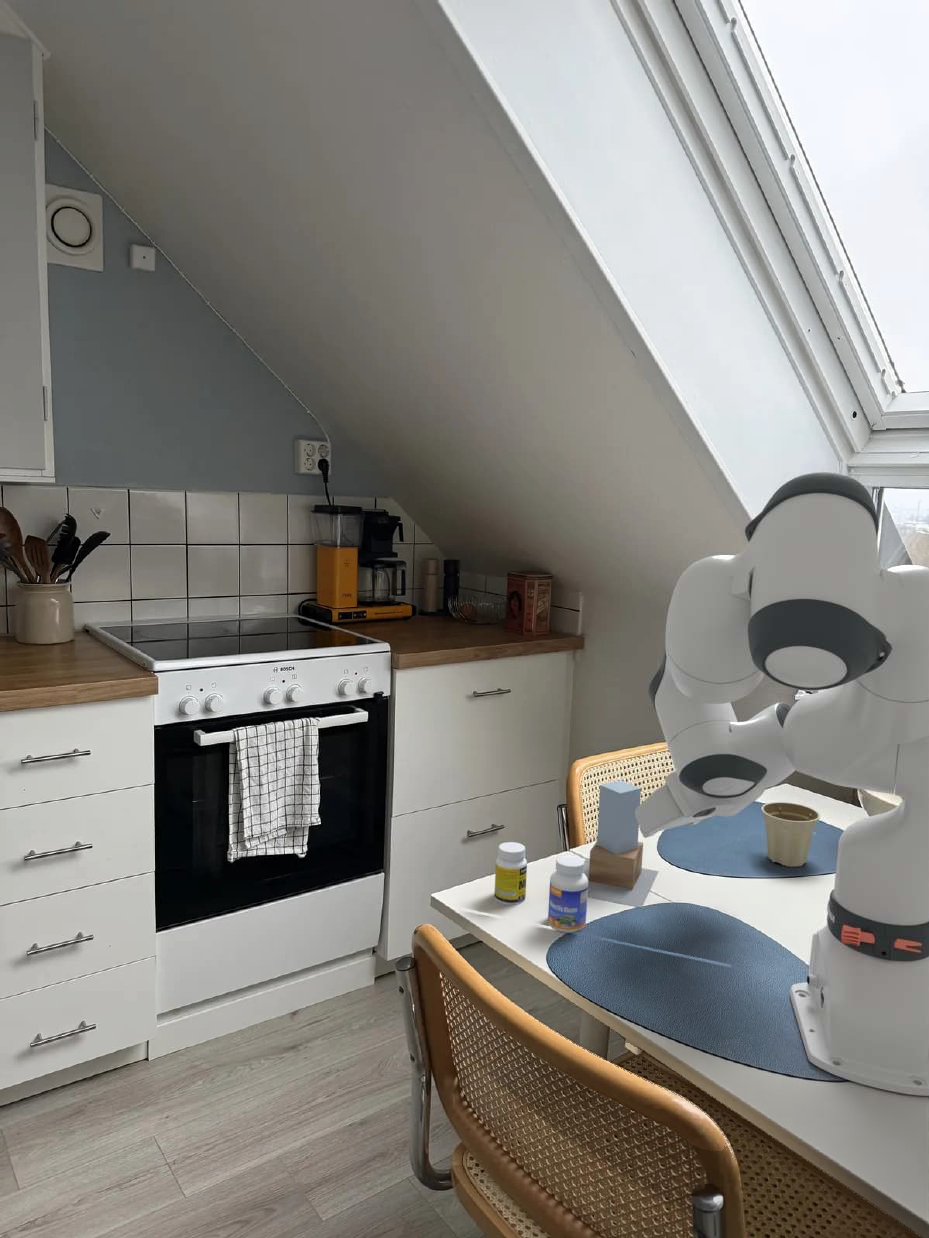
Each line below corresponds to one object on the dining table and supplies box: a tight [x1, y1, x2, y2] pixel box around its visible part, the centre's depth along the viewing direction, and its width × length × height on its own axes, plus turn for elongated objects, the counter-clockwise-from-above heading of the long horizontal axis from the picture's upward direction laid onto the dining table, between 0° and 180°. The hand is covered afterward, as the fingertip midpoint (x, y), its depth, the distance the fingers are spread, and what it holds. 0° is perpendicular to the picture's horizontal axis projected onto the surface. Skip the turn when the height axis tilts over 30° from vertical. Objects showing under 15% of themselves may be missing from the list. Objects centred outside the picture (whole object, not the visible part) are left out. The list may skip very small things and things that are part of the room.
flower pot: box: [760, 801, 821, 867], centre depth 157 cm, size 9×9×9 cm
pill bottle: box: [547, 854, 588, 934], centre depth 132 cm, size 5×5×10 cm
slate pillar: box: [596, 779, 642, 855], centre depth 146 cm, size 4×4×10 cm
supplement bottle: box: [493, 841, 528, 906], centre depth 139 cm, size 5×5×8 cm
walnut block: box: [589, 841, 644, 889], centre depth 148 cm, size 7×7×5 cm
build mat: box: [583, 857, 659, 909], centre depth 146 cm, size 14×12×1 cm
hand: (667, 826), depth 139 cm, fingers open, 8 cm apart
